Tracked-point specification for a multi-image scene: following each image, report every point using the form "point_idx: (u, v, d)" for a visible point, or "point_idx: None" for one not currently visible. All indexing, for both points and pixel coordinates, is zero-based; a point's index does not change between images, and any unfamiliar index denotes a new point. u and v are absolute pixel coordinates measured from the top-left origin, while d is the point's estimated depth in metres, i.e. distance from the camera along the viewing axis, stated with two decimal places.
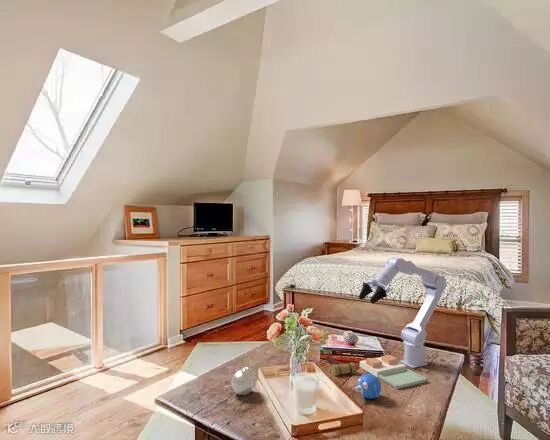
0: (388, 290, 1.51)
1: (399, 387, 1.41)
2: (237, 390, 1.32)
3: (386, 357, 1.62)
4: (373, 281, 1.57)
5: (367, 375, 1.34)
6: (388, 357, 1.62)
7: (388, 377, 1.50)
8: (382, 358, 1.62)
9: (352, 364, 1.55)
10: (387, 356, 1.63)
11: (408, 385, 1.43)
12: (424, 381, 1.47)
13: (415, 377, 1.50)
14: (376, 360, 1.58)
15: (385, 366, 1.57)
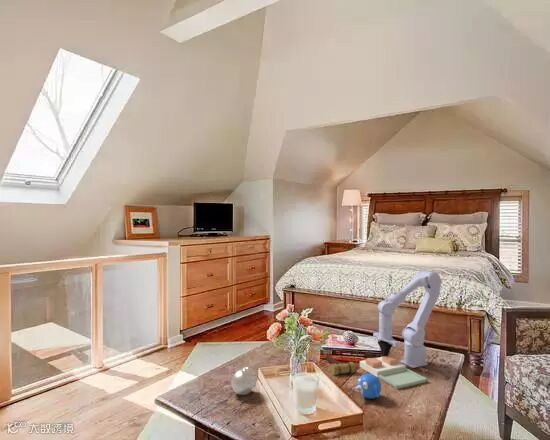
0: (396, 344, 1.58)
1: (399, 387, 1.41)
2: (237, 390, 1.32)
3: (387, 357, 1.61)
4: None
5: (367, 375, 1.34)
6: (389, 357, 1.61)
7: (388, 377, 1.50)
8: (383, 358, 1.62)
9: (351, 363, 1.56)
10: (388, 356, 1.63)
11: (408, 385, 1.43)
12: (424, 381, 1.47)
13: (415, 377, 1.50)
14: (376, 360, 1.58)
15: (385, 366, 1.57)
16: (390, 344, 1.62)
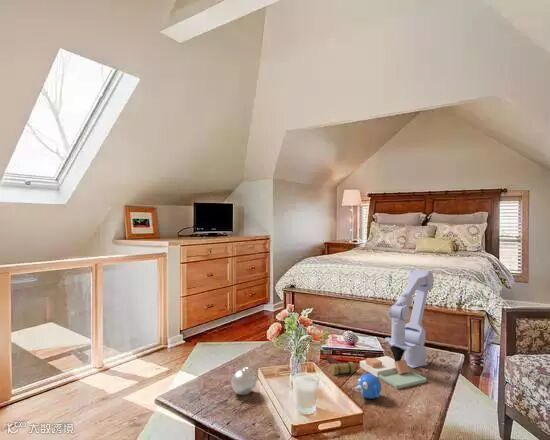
0: (410, 350, 1.50)
1: (399, 387, 1.41)
2: (237, 390, 1.32)
3: (400, 365, 1.54)
4: None
5: (367, 375, 1.34)
6: (402, 365, 1.54)
7: (388, 377, 1.50)
8: (396, 363, 1.54)
9: (351, 363, 1.56)
10: (402, 362, 1.55)
11: (408, 385, 1.43)
12: (424, 381, 1.47)
13: (415, 377, 1.50)
14: (376, 360, 1.58)
15: (385, 366, 1.57)
16: (402, 350, 1.55)
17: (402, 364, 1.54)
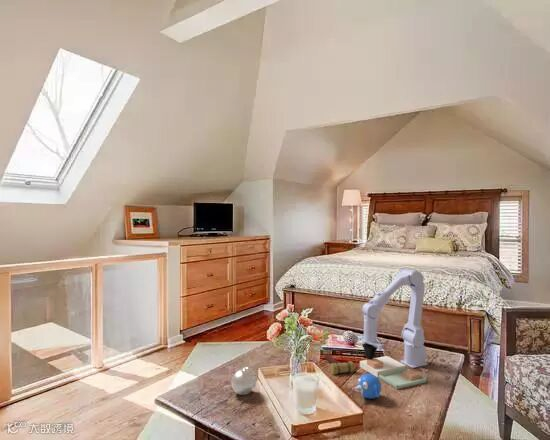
0: (381, 347, 1.54)
1: (399, 387, 1.41)
2: (237, 390, 1.32)
3: None
4: None
5: (367, 375, 1.34)
6: None
7: (388, 377, 1.50)
8: (410, 378, 1.48)
9: (351, 363, 1.56)
10: None
11: (408, 385, 1.43)
12: (424, 381, 1.47)
13: None
14: (377, 361, 1.57)
15: (385, 366, 1.57)
16: (375, 347, 1.58)
17: None
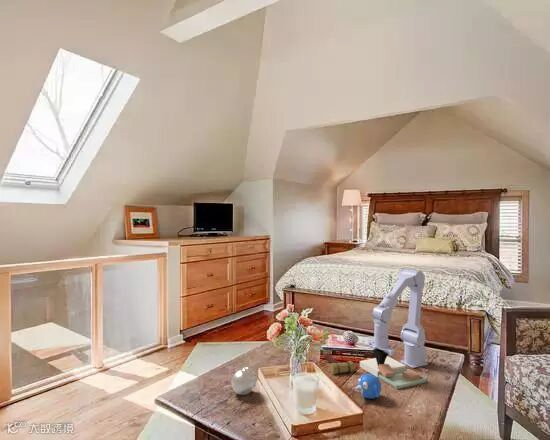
0: (393, 353, 1.47)
1: (399, 387, 1.41)
2: (237, 390, 1.32)
3: None
4: None
5: (367, 375, 1.34)
6: None
7: (388, 377, 1.50)
8: (410, 378, 1.48)
9: (350, 363, 1.56)
10: None
11: (408, 385, 1.43)
12: (424, 381, 1.47)
13: None
14: (389, 369, 1.51)
15: None
16: (386, 352, 1.52)
17: None
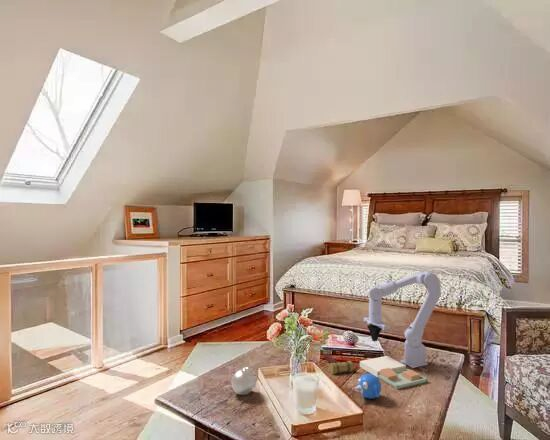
0: (385, 328, 1.63)
1: (399, 387, 1.41)
2: (237, 390, 1.32)
3: None
4: None
5: (367, 375, 1.34)
6: None
7: None
8: (410, 378, 1.48)
9: (350, 362, 1.57)
10: None
11: (408, 385, 1.43)
12: (424, 381, 1.47)
13: None
14: (391, 372, 1.50)
15: (385, 366, 1.57)
16: (379, 328, 1.67)
17: None
